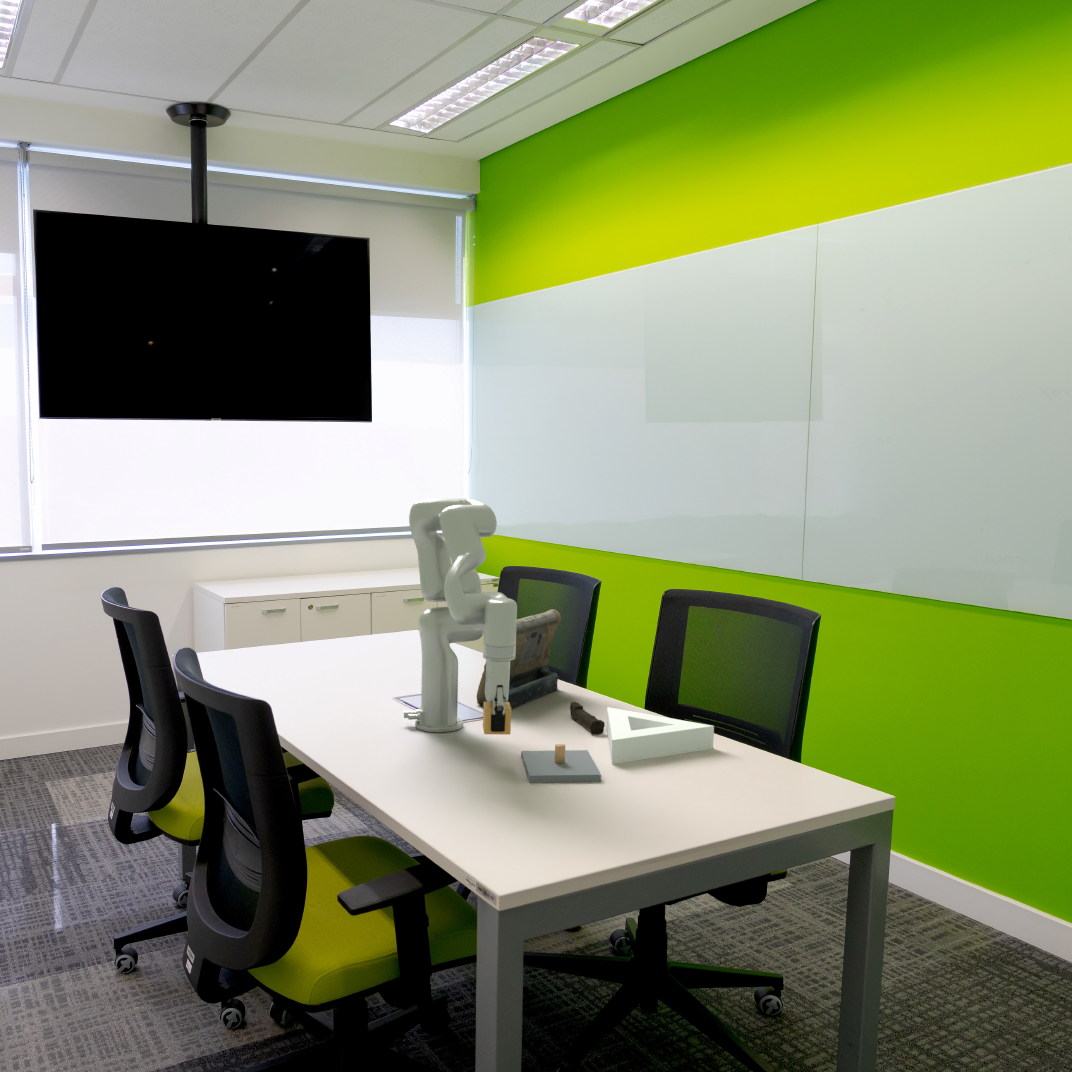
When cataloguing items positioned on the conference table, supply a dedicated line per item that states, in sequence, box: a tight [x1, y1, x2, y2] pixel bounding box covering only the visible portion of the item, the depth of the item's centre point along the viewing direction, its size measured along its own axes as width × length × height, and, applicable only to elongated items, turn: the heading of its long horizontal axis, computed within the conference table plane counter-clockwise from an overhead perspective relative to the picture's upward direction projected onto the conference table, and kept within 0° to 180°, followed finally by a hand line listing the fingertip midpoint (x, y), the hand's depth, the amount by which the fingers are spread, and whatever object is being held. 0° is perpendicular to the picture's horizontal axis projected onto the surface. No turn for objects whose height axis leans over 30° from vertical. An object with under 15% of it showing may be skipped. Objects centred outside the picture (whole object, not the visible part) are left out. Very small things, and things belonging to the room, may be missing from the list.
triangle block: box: [606, 706, 715, 765], centre depth 246 cm, size 30×26×6 cm
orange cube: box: [482, 702, 512, 735], centre depth 230 cm, size 6×6×6 cm
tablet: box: [476, 608, 562, 709], centre depth 291 cm, size 33×14×25 cm, turn 155°
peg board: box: [520, 743, 602, 783], centre depth 226 cm, size 16×18×6 cm
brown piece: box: [569, 701, 606, 736], centre depth 264 cm, size 19×4×5 cm, turn 17°
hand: (496, 726), depth 230 cm, fingers closed on orange cube, 5 cm apart
